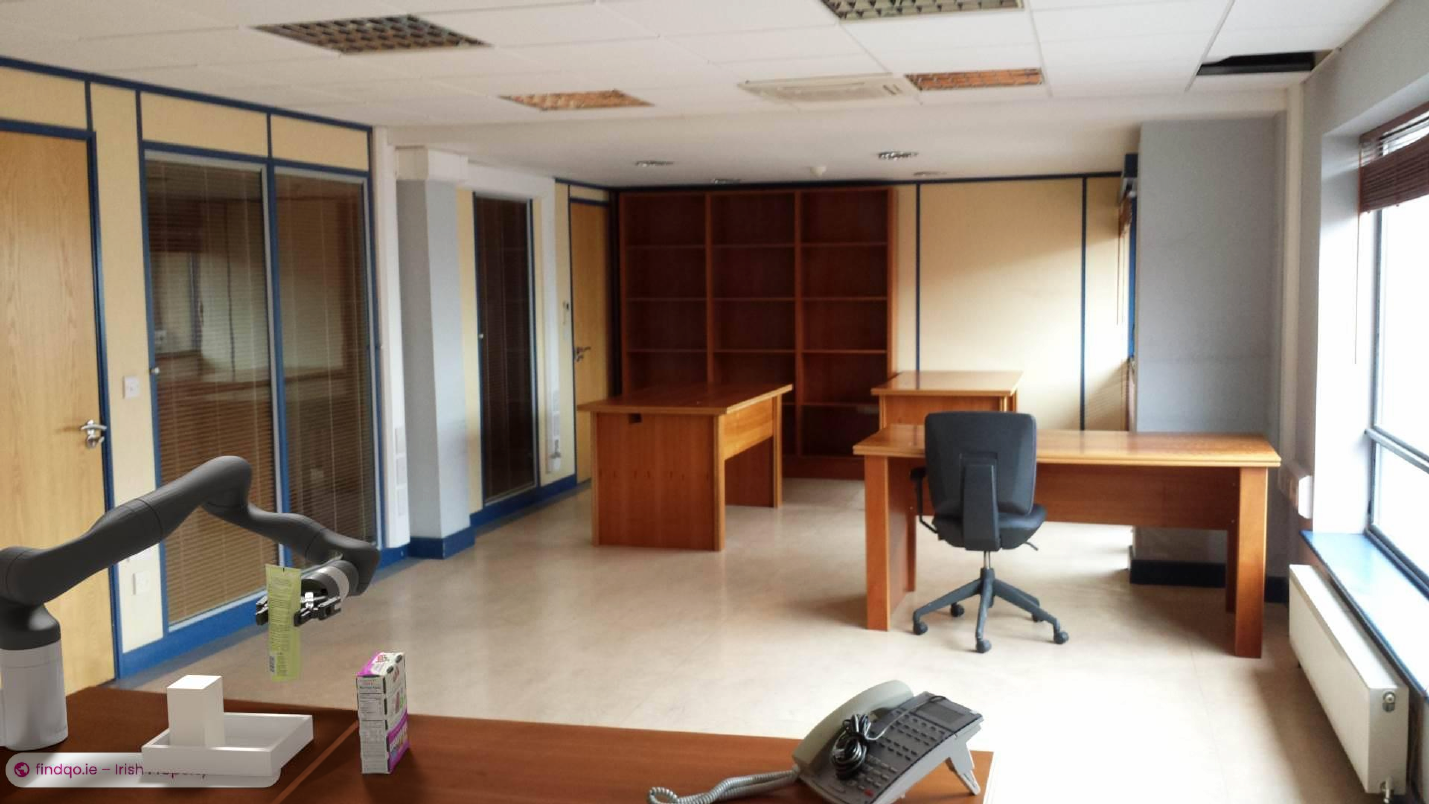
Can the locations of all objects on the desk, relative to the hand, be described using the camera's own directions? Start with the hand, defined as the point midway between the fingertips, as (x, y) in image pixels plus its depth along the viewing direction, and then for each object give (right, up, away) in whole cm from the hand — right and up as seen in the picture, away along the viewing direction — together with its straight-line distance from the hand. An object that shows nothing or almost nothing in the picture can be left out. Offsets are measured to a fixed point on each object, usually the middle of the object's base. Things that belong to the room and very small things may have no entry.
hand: (277, 620), depth 196 cm
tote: (-6, -22, -4) cm, 23 cm away
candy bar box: (+19, -22, -5) cm, 30 cm away
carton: (-11, -21, -4) cm, 24 cm away
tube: (0, -11, +4) cm, 11 cm away
